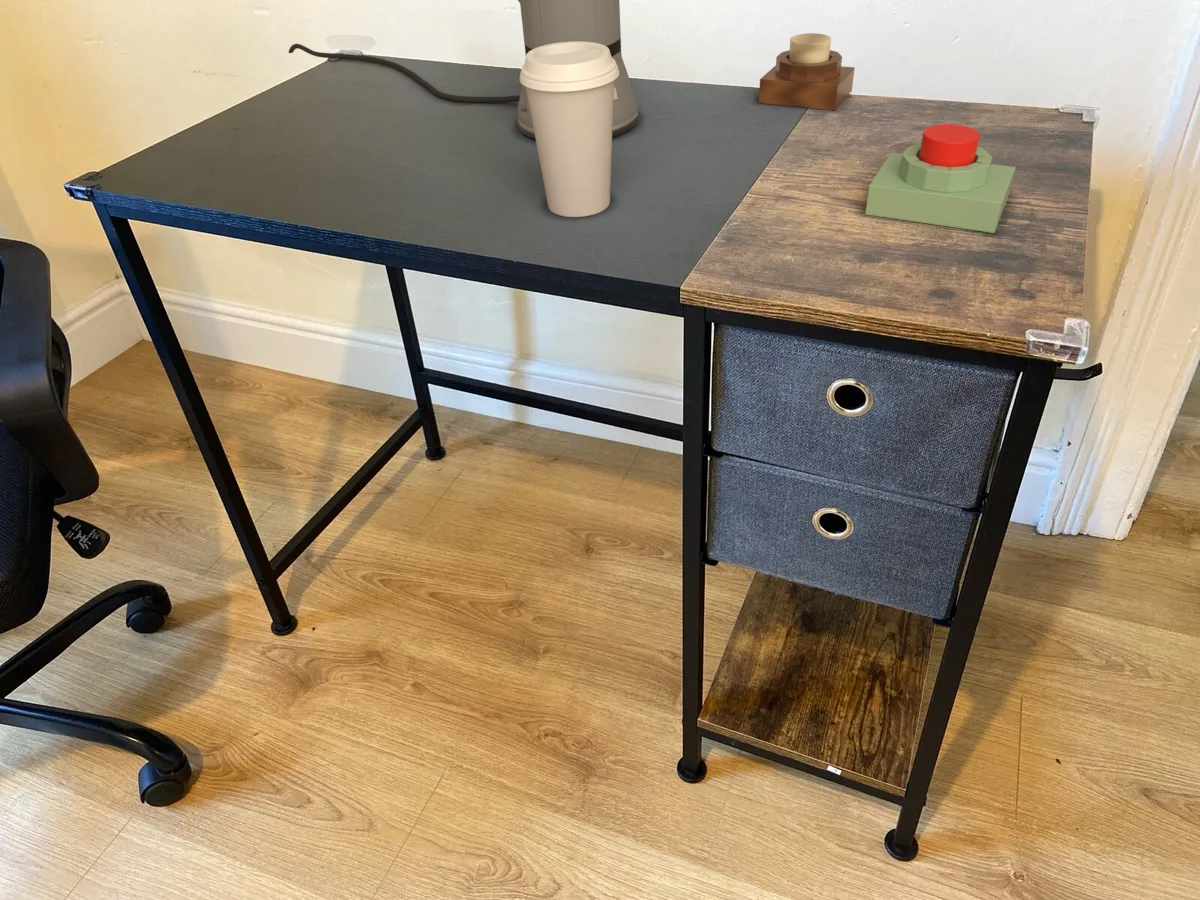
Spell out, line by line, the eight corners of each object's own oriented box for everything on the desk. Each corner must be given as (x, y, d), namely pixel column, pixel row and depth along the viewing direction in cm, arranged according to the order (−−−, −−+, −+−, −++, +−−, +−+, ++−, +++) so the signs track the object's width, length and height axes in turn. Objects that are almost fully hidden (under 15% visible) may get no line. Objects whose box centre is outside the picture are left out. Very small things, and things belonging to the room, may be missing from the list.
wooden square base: (758, 103, 113) (760, 62, 110) (778, 84, 119) (781, 45, 116) (834, 110, 110) (839, 68, 106) (851, 91, 115) (856, 50, 112)
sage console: (864, 214, 86) (871, 164, 83) (886, 180, 92) (894, 132, 89) (994, 233, 81) (1007, 181, 78) (1008, 196, 87) (1020, 146, 84)
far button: (783, 64, 111) (785, 42, 109) (795, 53, 114) (797, 32, 112) (822, 67, 109) (824, 45, 107) (833, 55, 112) (835, 34, 110)
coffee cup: (627, 185, 95) (622, 37, 86) (620, 223, 88) (613, 66, 78) (541, 186, 96) (526, 40, 87) (526, 224, 89) (508, 69, 79)
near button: (913, 165, 83) (918, 139, 82) (924, 147, 87) (929, 121, 85) (969, 172, 81) (974, 145, 80) (978, 153, 85) (983, 127, 83)
